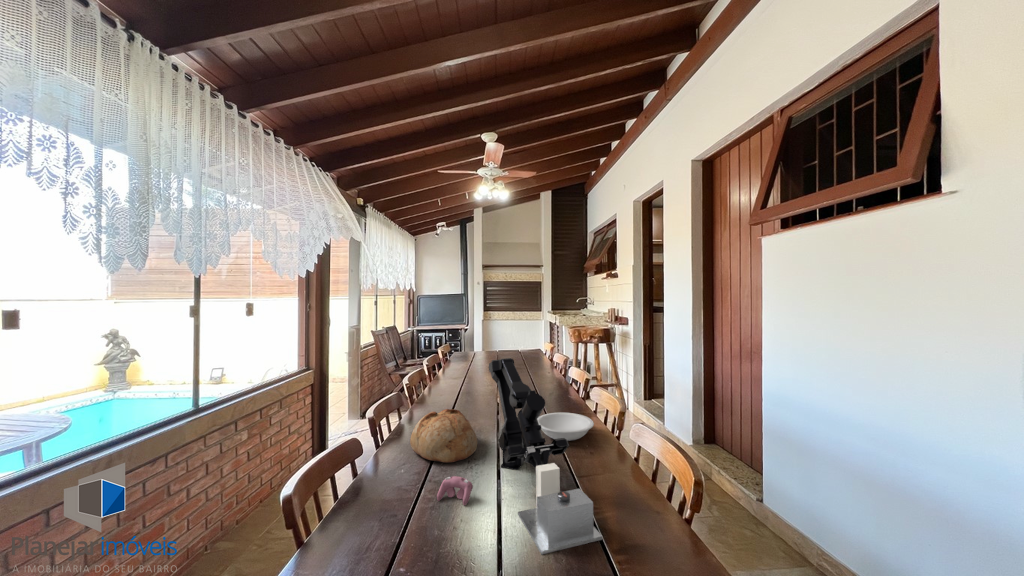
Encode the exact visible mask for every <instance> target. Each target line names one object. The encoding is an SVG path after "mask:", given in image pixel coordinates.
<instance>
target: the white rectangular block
mask: <svg viewBox="0 0 1024 576" xmlns="http://www.w3.org/2000/svg"><path fill="white" fill-rule="evenodd" d="M560 479H561V475H560V467H559V466H558V465H557V464H556V463H555V462H551V463H548V464H545V465H539V466H536V470H535V489H536V490H535V495H536V497H535V501H536V503H535V504H536V507H535V508H537V497H539V496H544V495H549V494H554V493H559V492H561V481H560Z"/></svg>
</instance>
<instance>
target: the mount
mask: <svg viewBox="0 0 1024 576" xmlns="http://www.w3.org/2000/svg"><path fill="white" fill-rule="evenodd" d="M517 516H518V517H519V520H520V521H521V522H522V524H523V526H524V528H525V529H526V531H527V533H528V535H529V536H530V538H531V540H532V541H533V542H534V545H535V546H536V548H537V550H538V551H539V553H540V555H546V554H549V553H553V552H558V551H563V550H566V549H570V548H575V547H577V546H583V545H585V544H586V545H587V544H588V543H589V544H590V543H594V542H597V541H602V540H603V535H602V534H601V532H599V531H598V529H597V528H596V527H595V526H594V501H593V500H592V499H591V498H589V496H588V495H587V494H586V492H585V493H584V491H583V490H582V489H580V488H575V489H569V490H563V491H560V492H559V493H554V494H549V495H544V496H539V497H537V508H536V507H534V508H530V509H525V510H519V511H517Z"/></svg>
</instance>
